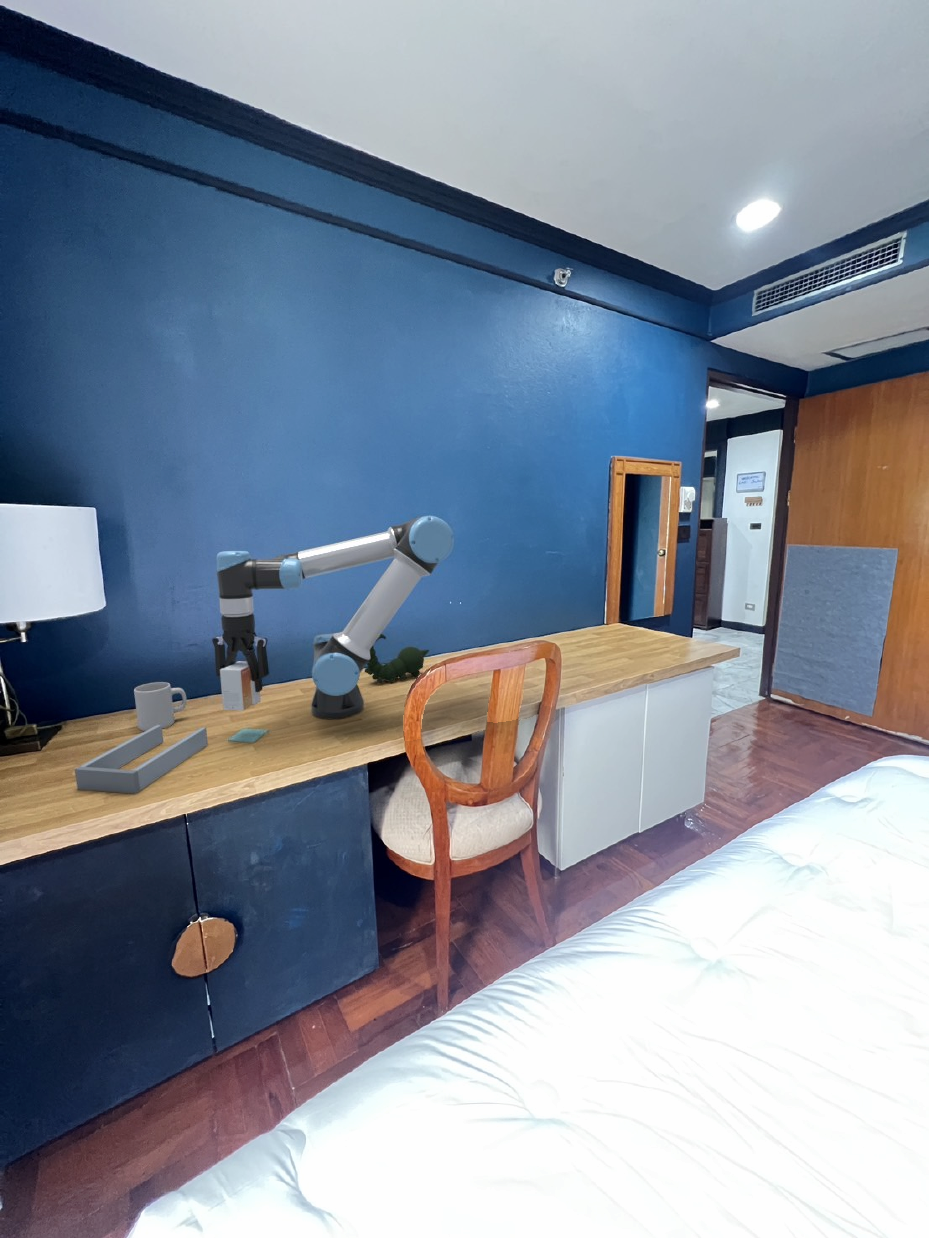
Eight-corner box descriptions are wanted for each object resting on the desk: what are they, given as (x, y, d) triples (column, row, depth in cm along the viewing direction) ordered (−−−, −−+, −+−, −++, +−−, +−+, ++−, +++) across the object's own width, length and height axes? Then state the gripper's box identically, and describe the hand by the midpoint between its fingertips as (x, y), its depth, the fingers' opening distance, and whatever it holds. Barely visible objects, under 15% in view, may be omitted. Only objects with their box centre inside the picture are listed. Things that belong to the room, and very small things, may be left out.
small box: (243, 711, 122) (240, 670, 120) (222, 710, 123) (218, 669, 121) (261, 700, 130) (258, 661, 128) (241, 699, 130) (238, 660, 128)
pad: (268, 731, 132) (267, 730, 132) (253, 742, 125) (253, 741, 125) (243, 730, 133) (243, 728, 133) (228, 741, 126) (227, 739, 126)
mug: (140, 733, 131) (135, 694, 128) (136, 723, 137) (131, 686, 135) (191, 722, 138) (187, 684, 136) (185, 713, 144) (181, 677, 142)
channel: (207, 744, 124) (206, 727, 123) (135, 793, 102) (133, 773, 101) (159, 741, 126) (157, 724, 125) (77, 789, 103) (74, 769, 102)
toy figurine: (374, 693, 166) (437, 674, 180) (367, 639, 162) (432, 624, 175) (363, 686, 174) (424, 668, 187) (356, 634, 170) (419, 620, 183)
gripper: (280, 612, 125) (286, 699, 130) (212, 610, 128) (220, 696, 132) (264, 617, 118) (271, 710, 122) (193, 615, 120) (202, 706, 125)
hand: (245, 702), depth 127 cm, fingers closed on small box, 6 cm apart
